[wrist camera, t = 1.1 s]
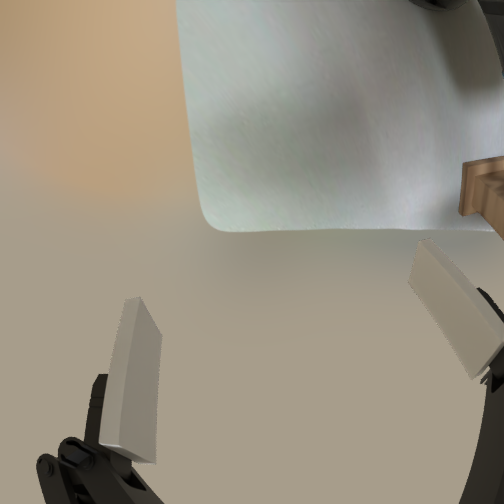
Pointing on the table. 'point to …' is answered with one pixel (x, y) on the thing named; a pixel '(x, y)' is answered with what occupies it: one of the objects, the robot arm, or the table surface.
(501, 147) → the table surface
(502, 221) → the walnut stand
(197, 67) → the table surface
